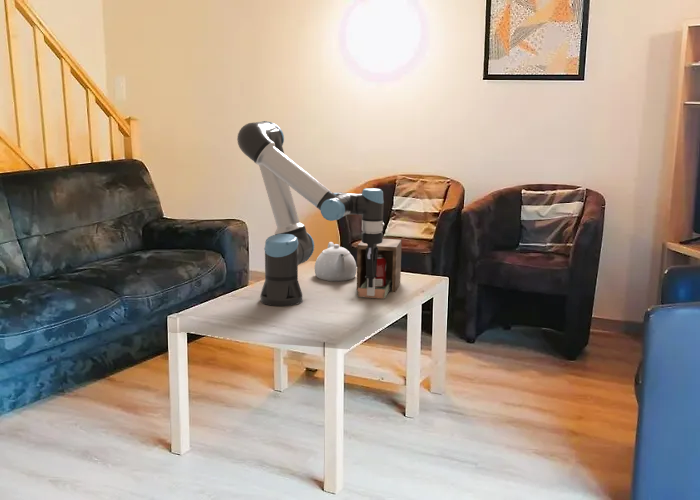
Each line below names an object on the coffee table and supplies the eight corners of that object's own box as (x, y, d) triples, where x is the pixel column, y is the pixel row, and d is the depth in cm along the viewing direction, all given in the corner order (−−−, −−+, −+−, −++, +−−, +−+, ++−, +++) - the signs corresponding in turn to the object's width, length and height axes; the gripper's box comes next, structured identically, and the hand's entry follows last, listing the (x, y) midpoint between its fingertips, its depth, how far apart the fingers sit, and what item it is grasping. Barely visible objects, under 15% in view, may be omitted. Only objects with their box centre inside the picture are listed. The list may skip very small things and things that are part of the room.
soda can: (384, 289, 297) (385, 258, 294) (366, 288, 298) (367, 257, 295) (387, 285, 303) (387, 254, 301) (369, 284, 304) (370, 253, 302)
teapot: (366, 275, 323) (367, 243, 320) (342, 284, 308) (343, 250, 305) (328, 269, 333) (329, 237, 330) (303, 277, 317) (303, 244, 315)
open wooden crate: (356, 289, 300) (357, 244, 296) (363, 280, 314) (364, 237, 310) (395, 292, 297) (396, 247, 293) (400, 283, 311) (401, 239, 308)
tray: (357, 296, 289) (357, 288, 288) (366, 283, 308) (367, 275, 307) (384, 298, 287) (384, 290, 286) (392, 285, 306) (392, 277, 305)
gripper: (379, 235, 275) (378, 300, 280) (385, 229, 287) (384, 291, 292) (358, 234, 276) (357, 299, 281) (365, 228, 289) (364, 290, 294)
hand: (370, 295), depth 287 cm, fingers closed
